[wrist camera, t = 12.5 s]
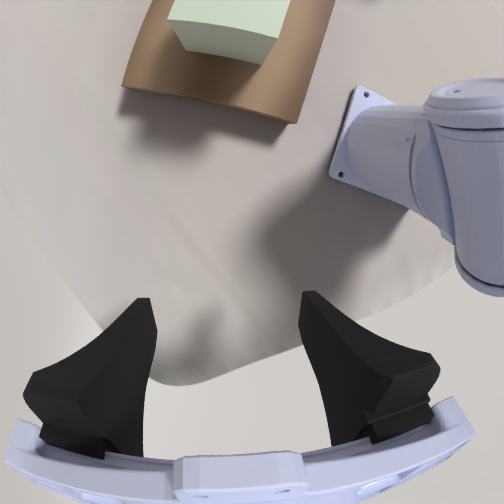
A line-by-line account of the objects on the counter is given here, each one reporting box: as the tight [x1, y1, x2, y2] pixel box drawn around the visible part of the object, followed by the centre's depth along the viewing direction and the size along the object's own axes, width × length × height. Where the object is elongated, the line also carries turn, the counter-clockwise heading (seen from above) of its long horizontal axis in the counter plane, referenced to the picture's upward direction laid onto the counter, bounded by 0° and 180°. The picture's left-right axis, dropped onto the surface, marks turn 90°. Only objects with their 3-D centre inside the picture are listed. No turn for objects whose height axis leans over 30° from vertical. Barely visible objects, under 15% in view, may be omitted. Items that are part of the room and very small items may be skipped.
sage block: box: [167, 0, 290, 65], centre depth 10 cm, size 5×5×6 cm
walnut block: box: [121, 0, 335, 124], centre depth 14 cm, size 12×12×3 cm
